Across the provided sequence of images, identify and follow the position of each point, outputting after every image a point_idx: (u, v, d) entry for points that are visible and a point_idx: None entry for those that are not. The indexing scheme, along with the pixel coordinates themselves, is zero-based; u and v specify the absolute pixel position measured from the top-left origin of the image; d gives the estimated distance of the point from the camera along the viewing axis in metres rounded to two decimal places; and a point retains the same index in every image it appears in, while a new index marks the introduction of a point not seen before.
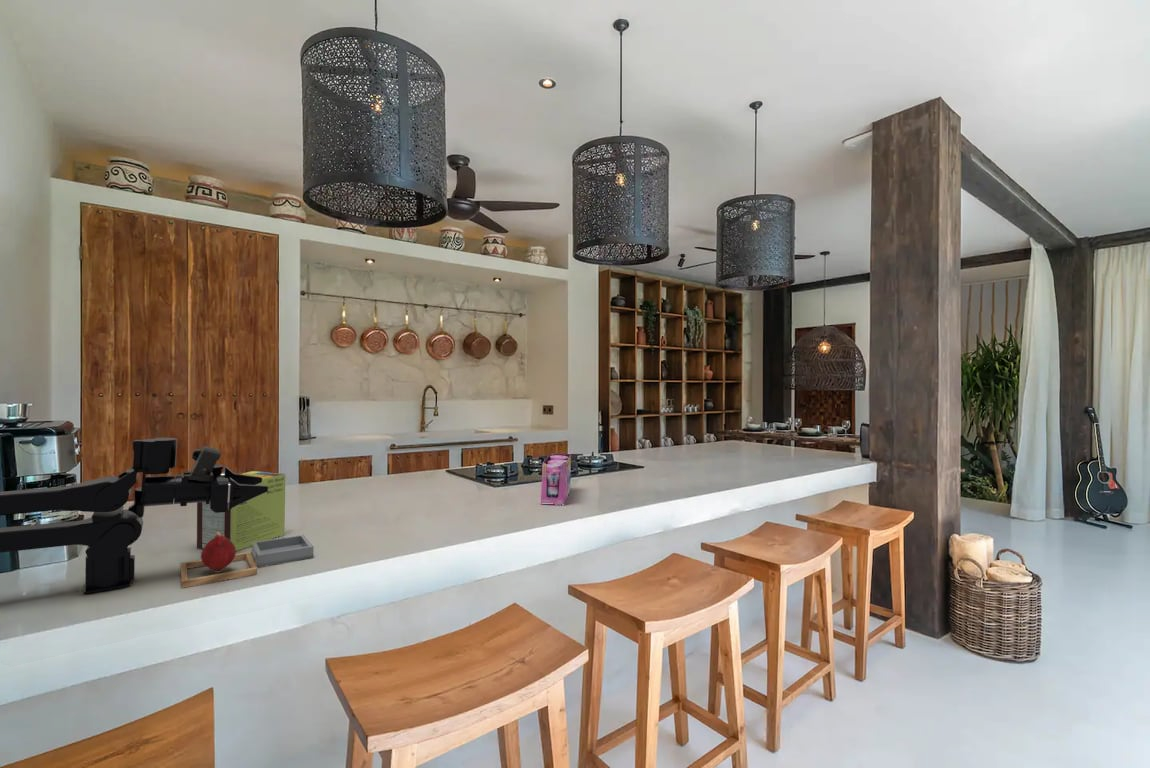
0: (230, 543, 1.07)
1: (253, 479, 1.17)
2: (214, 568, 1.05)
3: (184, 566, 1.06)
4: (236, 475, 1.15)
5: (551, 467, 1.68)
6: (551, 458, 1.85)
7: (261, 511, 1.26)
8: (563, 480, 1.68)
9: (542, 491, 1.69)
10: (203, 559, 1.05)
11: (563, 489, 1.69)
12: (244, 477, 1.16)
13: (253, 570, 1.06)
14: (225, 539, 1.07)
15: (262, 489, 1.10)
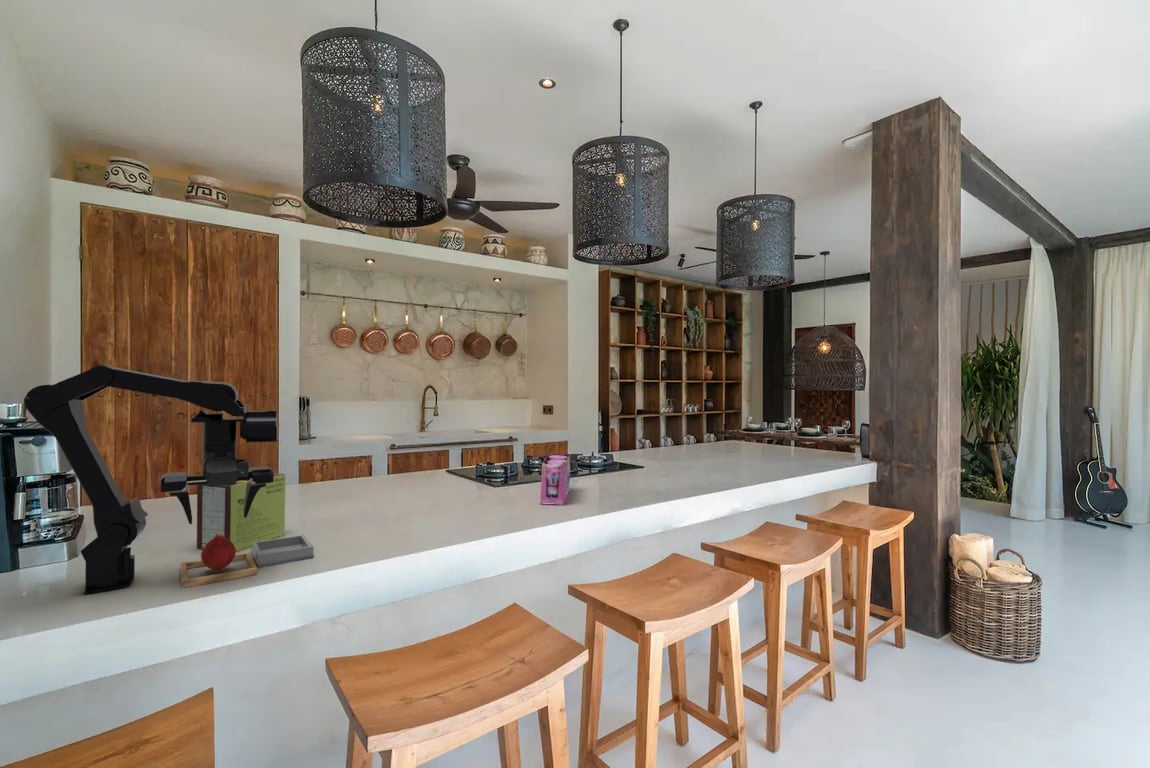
0: (230, 543, 1.07)
1: (244, 509, 1.10)
2: (214, 568, 1.05)
3: (184, 566, 1.06)
4: (247, 494, 1.09)
5: (551, 467, 1.68)
6: (550, 458, 1.85)
7: (261, 511, 1.26)
8: (563, 480, 1.69)
9: (542, 491, 1.69)
10: (203, 559, 1.05)
11: (563, 489, 1.69)
12: (246, 501, 1.09)
13: (253, 570, 1.06)
14: (225, 539, 1.07)
15: (187, 518, 1.04)
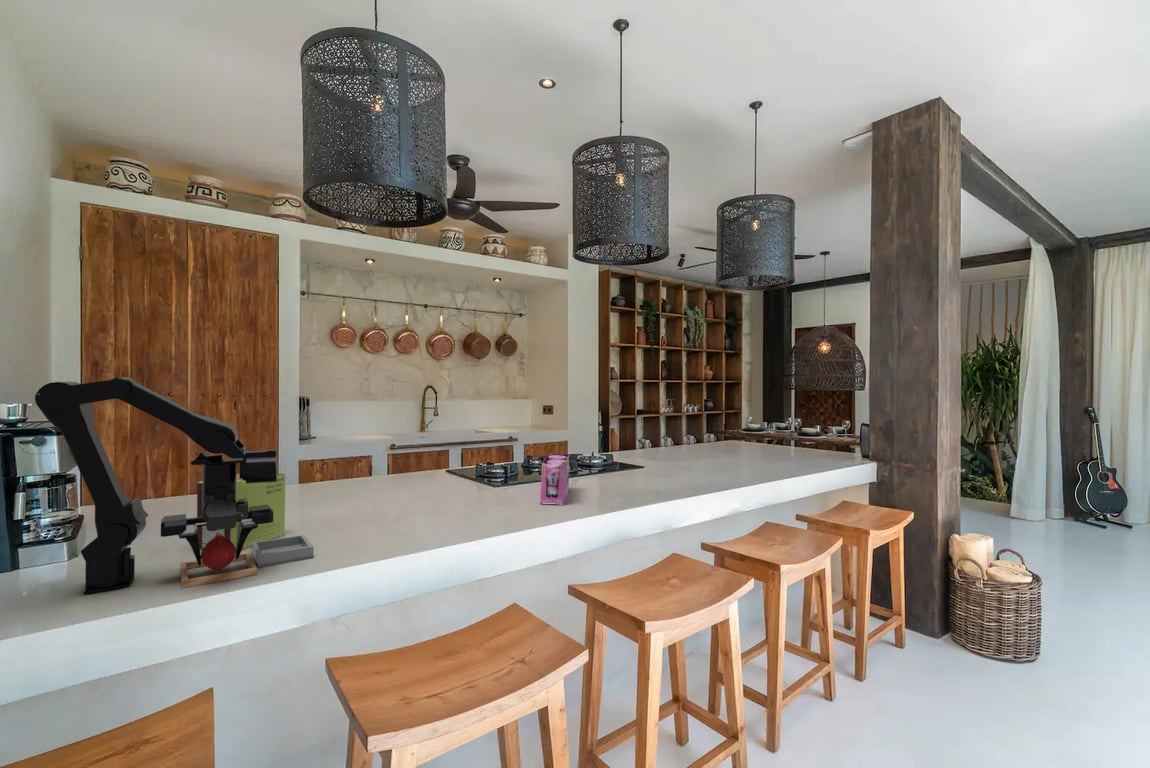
0: (230, 543, 1.07)
1: (236, 550, 1.09)
2: (214, 568, 1.05)
3: (184, 566, 1.06)
4: (239, 536, 1.08)
5: (551, 467, 1.68)
6: (549, 458, 1.85)
7: None
8: (563, 480, 1.69)
9: (542, 491, 1.69)
10: (203, 559, 1.05)
11: (563, 489, 1.69)
12: (237, 543, 1.09)
13: (253, 570, 1.06)
14: (225, 539, 1.07)
15: None
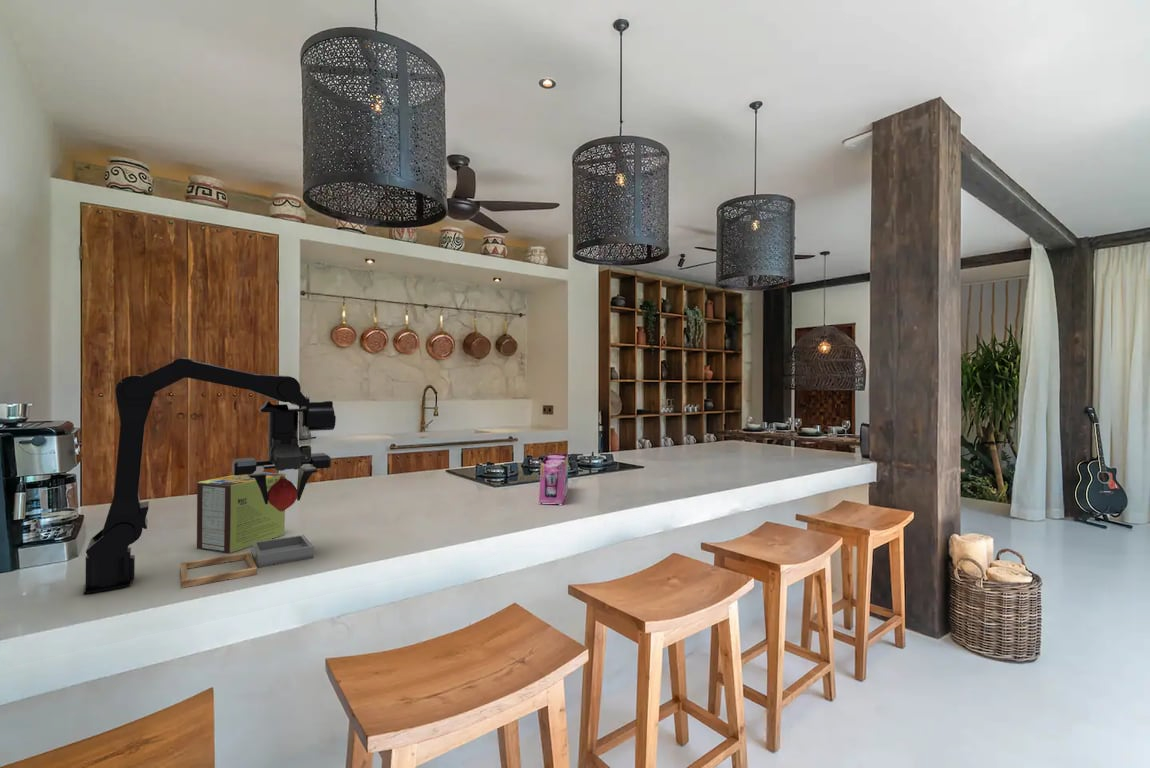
0: (293, 485, 1.17)
1: (297, 493, 1.19)
2: (279, 507, 1.15)
3: (184, 566, 1.06)
4: (301, 479, 1.18)
5: (549, 467, 1.68)
6: (548, 458, 1.85)
7: (261, 511, 1.26)
8: (561, 480, 1.69)
9: (540, 491, 1.69)
10: (270, 498, 1.14)
11: (561, 489, 1.69)
12: (299, 486, 1.18)
13: (253, 570, 1.06)
14: (288, 481, 1.17)
15: None
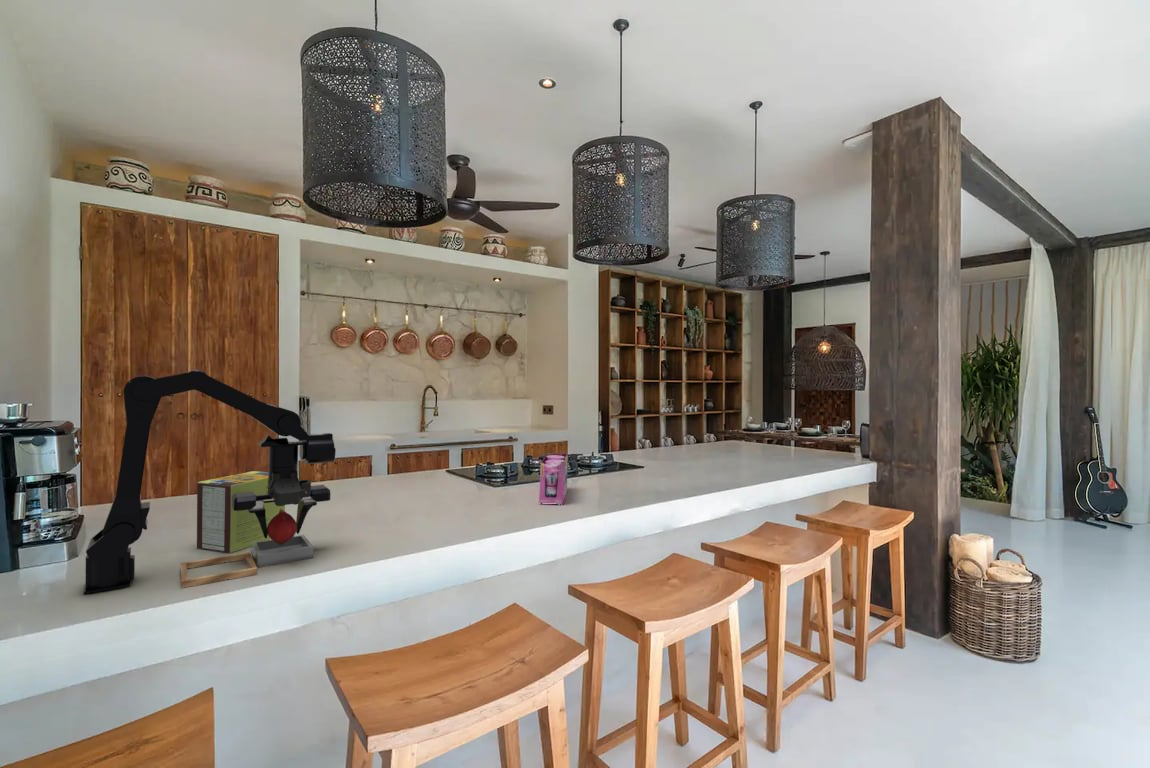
0: (292, 519, 1.17)
1: (297, 526, 1.19)
2: (278, 541, 1.15)
3: (184, 566, 1.06)
4: (300, 512, 1.18)
5: (549, 467, 1.68)
6: (548, 458, 1.86)
7: None
8: (561, 480, 1.69)
9: (540, 491, 1.69)
10: (269, 533, 1.15)
11: (561, 489, 1.69)
12: (298, 519, 1.19)
13: (253, 570, 1.06)
14: (288, 515, 1.17)
15: (263, 533, 1.15)
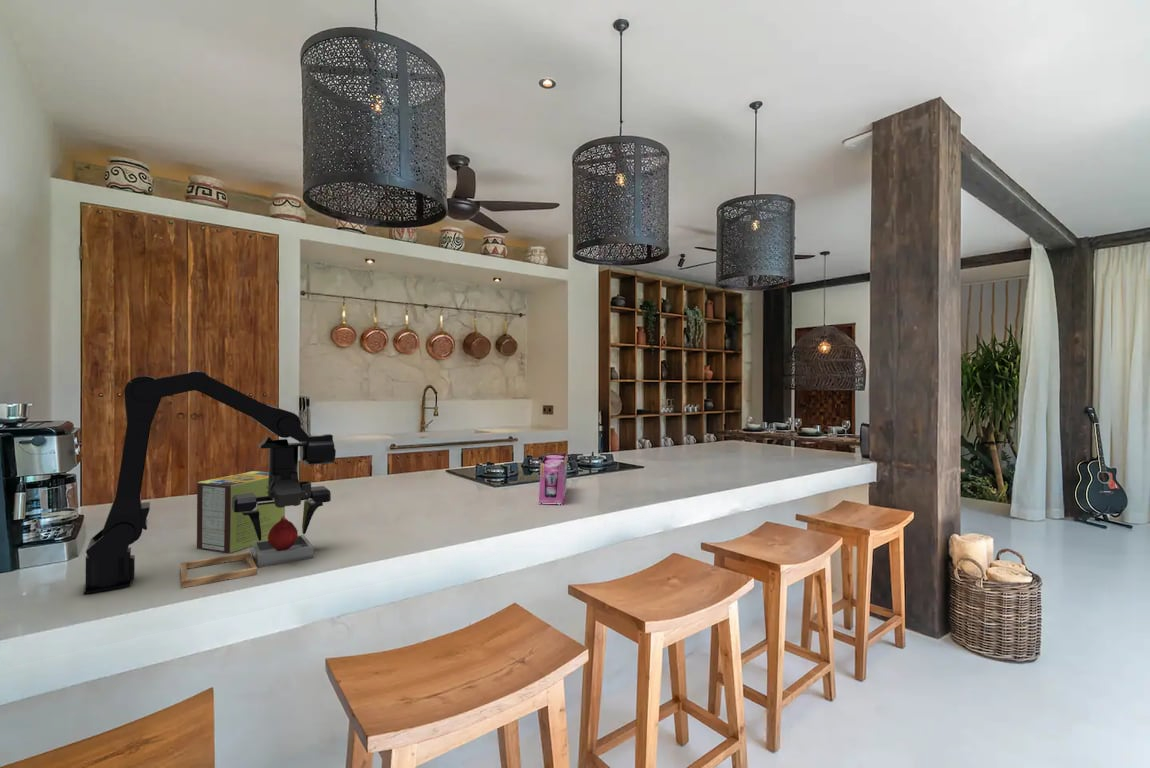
0: (293, 526, 1.18)
1: (303, 526, 1.20)
2: (279, 549, 1.16)
3: (184, 566, 1.06)
4: (306, 513, 1.19)
5: (549, 467, 1.68)
6: (547, 458, 1.86)
7: (261, 511, 1.26)
8: (561, 480, 1.69)
9: (540, 491, 1.69)
10: (270, 540, 1.15)
11: (561, 489, 1.69)
12: (305, 519, 1.19)
13: (253, 570, 1.06)
14: (289, 522, 1.17)
15: (257, 535, 1.14)
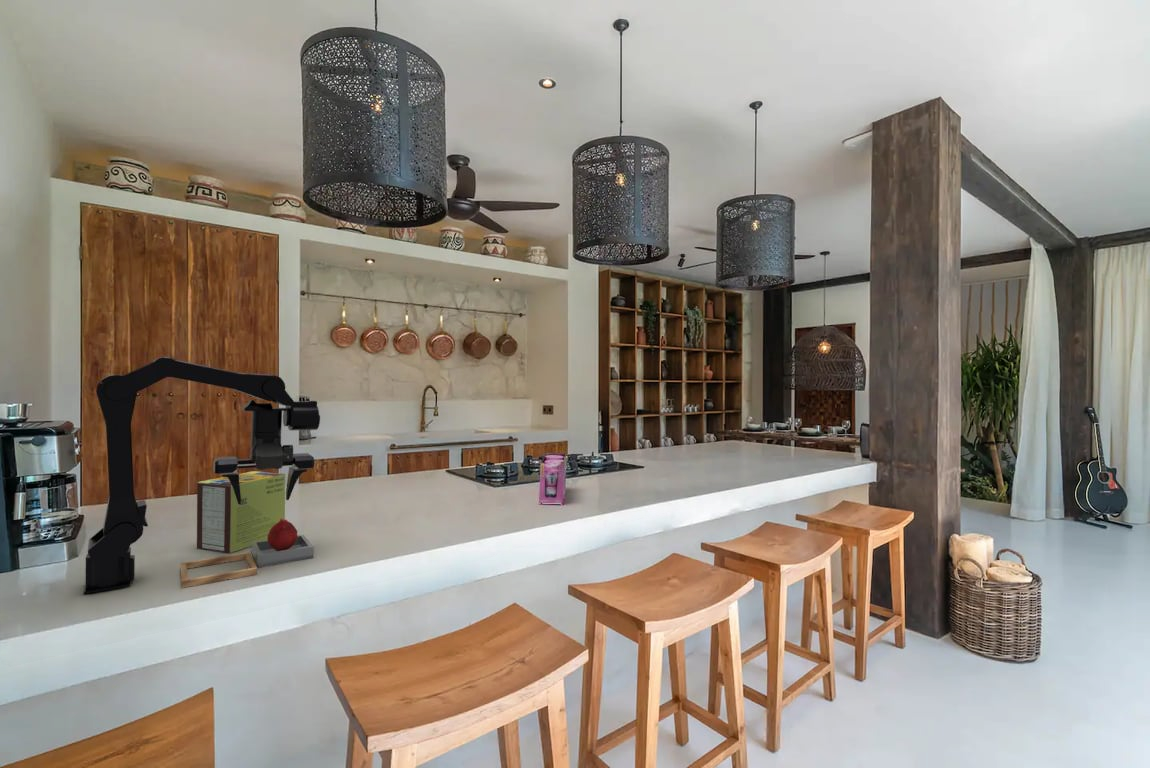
0: (293, 527, 1.17)
1: (287, 492, 1.19)
2: (279, 549, 1.15)
3: (184, 566, 1.06)
4: (290, 479, 1.18)
5: (549, 467, 1.68)
6: (547, 458, 1.86)
7: (261, 511, 1.26)
8: (561, 480, 1.69)
9: (540, 491, 1.69)
10: (269, 541, 1.15)
11: (561, 489, 1.69)
12: (288, 485, 1.18)
13: (253, 570, 1.06)
14: (289, 523, 1.17)
15: None
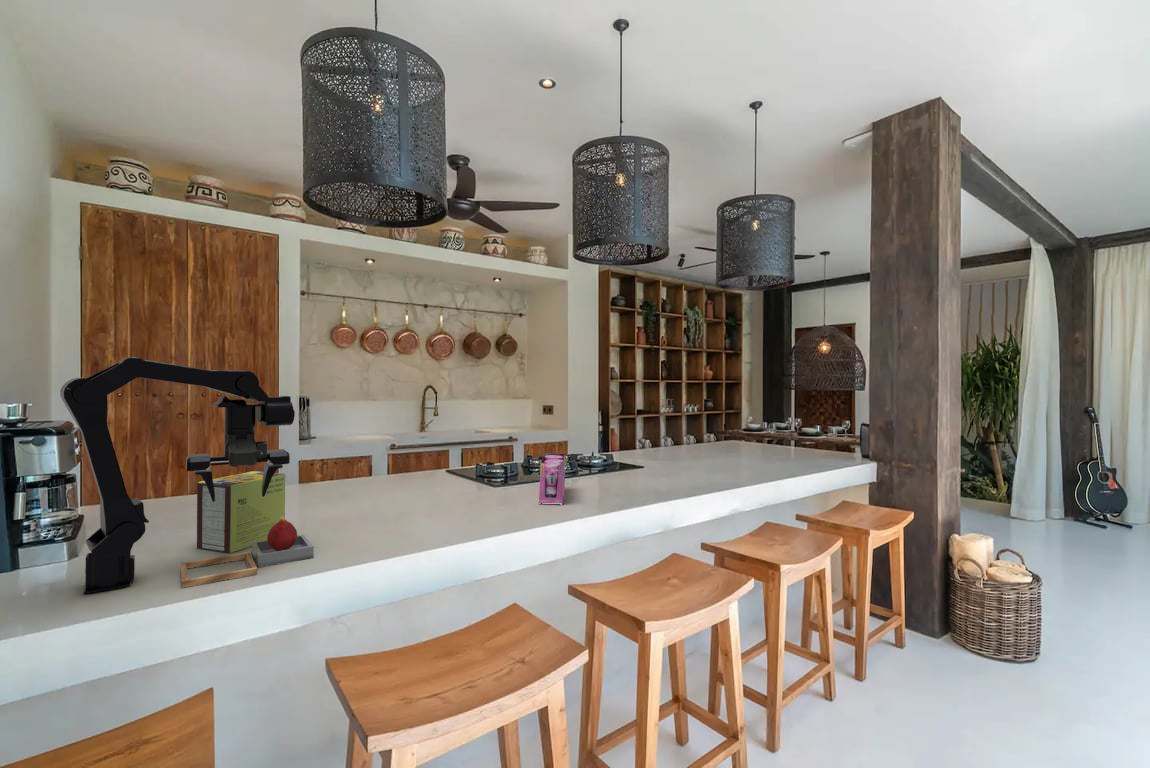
0: (293, 527, 1.17)
1: (262, 488, 1.18)
2: (279, 549, 1.15)
3: (184, 566, 1.06)
4: (265, 475, 1.17)
5: (549, 467, 1.68)
6: (546, 458, 1.86)
7: (261, 511, 1.26)
8: (561, 480, 1.69)
9: (540, 491, 1.69)
10: (269, 541, 1.15)
11: (561, 489, 1.69)
12: (264, 481, 1.17)
13: (253, 570, 1.06)
14: (288, 523, 1.17)
15: None
